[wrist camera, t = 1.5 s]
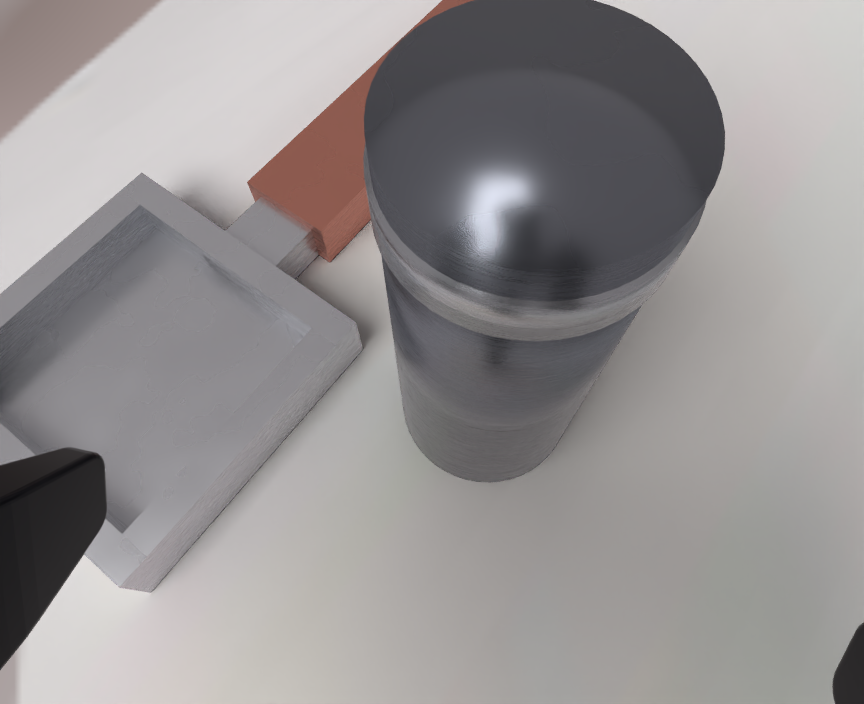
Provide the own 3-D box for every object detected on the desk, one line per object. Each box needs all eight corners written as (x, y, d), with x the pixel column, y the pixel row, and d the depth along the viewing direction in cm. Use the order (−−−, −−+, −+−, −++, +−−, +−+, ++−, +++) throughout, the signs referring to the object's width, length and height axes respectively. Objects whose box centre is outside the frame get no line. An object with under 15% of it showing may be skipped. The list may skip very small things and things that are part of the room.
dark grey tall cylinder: (506, 521, 20) (607, 352, 8) (366, 417, 22) (279, 145, 10) (601, 385, 22) (795, 87, 10) (465, 297, 23) (495, -56, 12)
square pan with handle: (150, 592, 19) (119, 587, 17) (-53, 403, 22) (-101, 380, 20) (612, 63, 28) (625, 21, 26) (428, -29, 31) (428, -74, 29)
